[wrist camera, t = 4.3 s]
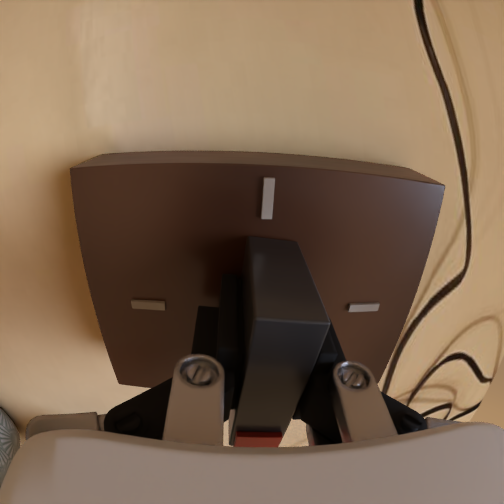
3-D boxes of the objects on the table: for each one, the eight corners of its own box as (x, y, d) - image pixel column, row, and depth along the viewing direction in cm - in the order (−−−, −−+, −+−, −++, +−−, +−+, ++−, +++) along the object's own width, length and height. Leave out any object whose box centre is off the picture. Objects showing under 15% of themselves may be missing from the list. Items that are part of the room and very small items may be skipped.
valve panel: (409, 168, 13) (448, 186, 10) (363, 348, 18) (379, 385, 15) (101, 153, 12) (67, 169, 9) (131, 346, 17) (117, 386, 14)
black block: (247, 234, 11) (254, 324, 6) (298, 241, 11) (335, 329, 7) (228, 359, 13) (228, 451, 9) (268, 362, 13) (279, 452, 9)
